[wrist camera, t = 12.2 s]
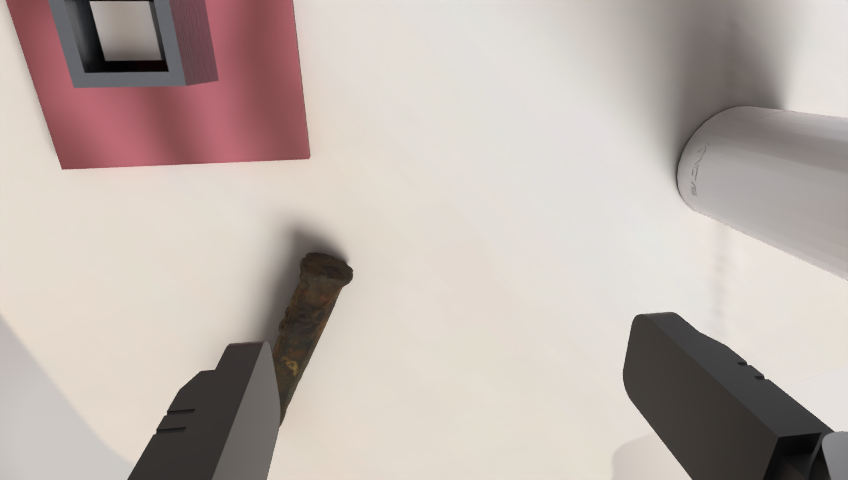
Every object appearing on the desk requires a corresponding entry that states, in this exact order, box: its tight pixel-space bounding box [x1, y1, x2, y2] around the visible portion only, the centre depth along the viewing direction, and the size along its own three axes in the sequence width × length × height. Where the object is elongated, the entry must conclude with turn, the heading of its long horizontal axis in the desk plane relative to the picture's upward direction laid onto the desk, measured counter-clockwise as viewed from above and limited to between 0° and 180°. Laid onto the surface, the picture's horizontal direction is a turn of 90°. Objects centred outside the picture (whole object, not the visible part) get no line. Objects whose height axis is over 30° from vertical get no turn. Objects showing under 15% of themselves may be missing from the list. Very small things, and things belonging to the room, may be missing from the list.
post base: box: [6, 0, 310, 170], centre depth 26 cm, size 16×16×6 cm
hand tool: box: [272, 253, 353, 427], centre depth 36 cm, size 19×4×5 cm, turn 152°
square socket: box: [48, 0, 219, 88], centre depth 25 cm, size 5×5×6 cm
